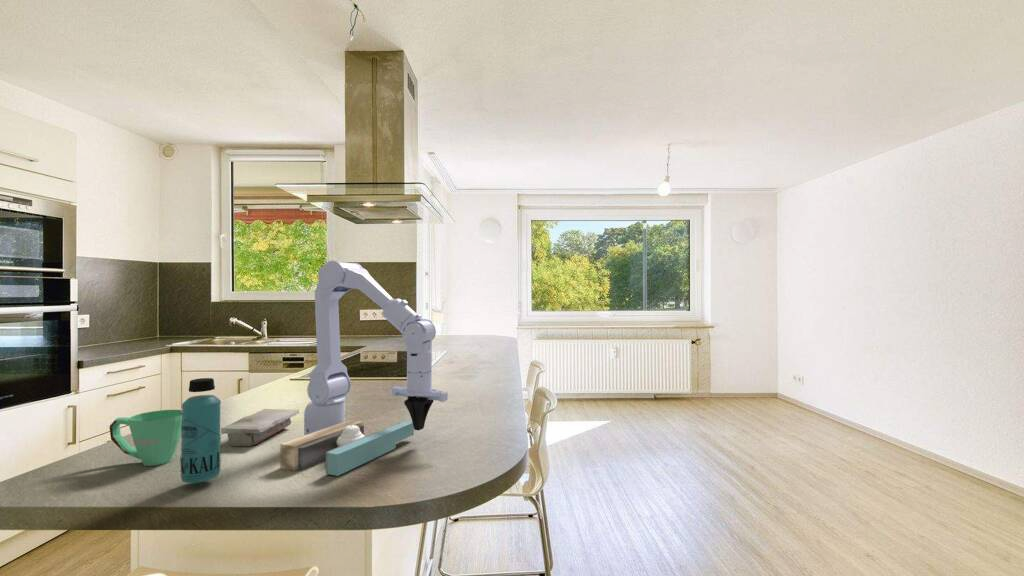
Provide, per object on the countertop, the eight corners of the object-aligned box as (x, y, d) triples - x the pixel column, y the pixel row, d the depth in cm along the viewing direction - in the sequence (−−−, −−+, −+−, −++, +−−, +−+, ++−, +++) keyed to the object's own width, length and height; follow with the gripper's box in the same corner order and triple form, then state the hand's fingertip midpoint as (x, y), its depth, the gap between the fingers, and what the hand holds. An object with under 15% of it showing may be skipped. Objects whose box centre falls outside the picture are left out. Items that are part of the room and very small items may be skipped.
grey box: (218, 448, 112) (259, 449, 112) (218, 427, 112) (259, 428, 112) (264, 425, 130) (300, 426, 130) (264, 407, 130) (299, 408, 130)
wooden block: (280, 468, 99) (280, 443, 99) (349, 440, 117) (349, 420, 117) (298, 472, 97) (298, 447, 97) (366, 443, 115) (366, 422, 115)
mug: (195, 453, 108) (195, 409, 108) (165, 470, 98) (165, 421, 98) (128, 454, 107) (129, 409, 108) (91, 471, 98) (91, 421, 98)
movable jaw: (325, 473, 95) (325, 452, 95) (403, 438, 118) (403, 421, 118) (337, 476, 94) (337, 454, 94) (413, 439, 117) (413, 422, 117)
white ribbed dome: (336, 462, 102) (336, 429, 102) (336, 453, 108) (336, 422, 108) (366, 459, 104) (366, 427, 104) (365, 450, 110) (365, 419, 110)
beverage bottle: (192, 478, 94) (192, 375, 94) (228, 477, 94) (228, 375, 94) (171, 492, 87) (172, 382, 87) (210, 491, 88) (210, 381, 88)
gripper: (383, 371, 112) (383, 429, 112) (435, 376, 106) (435, 437, 106) (402, 367, 119) (401, 422, 119) (452, 371, 113) (452, 429, 113)
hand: (418, 429), depth 113 cm, fingers closed
